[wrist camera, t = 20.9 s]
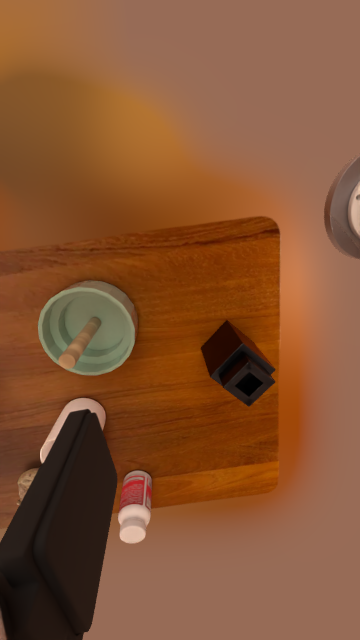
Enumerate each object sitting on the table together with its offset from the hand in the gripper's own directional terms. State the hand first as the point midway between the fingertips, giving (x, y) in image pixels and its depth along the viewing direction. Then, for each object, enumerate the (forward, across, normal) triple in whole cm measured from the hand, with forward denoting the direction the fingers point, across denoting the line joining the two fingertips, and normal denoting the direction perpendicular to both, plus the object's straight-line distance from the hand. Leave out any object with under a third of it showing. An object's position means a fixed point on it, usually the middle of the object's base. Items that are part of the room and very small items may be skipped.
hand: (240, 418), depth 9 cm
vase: (+36, -6, +16) cm, 40 cm away
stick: (+36, +16, +6) cm, 39 cm away
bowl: (+36, +16, +6) cm, 40 cm away
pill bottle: (+36, +17, +44) cm, 60 cm away
